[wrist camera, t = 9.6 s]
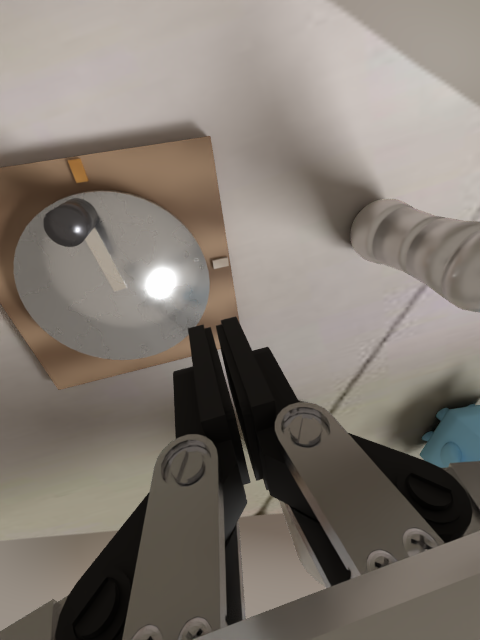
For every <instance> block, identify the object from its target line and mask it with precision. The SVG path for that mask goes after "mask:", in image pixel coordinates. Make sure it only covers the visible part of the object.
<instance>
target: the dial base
mask: <svg viewBox="0 0 480 640" xmlns="http://www.w3.org/2000/svg"><path fill="white" fill-rule="evenodd" d="M94 190H115V191H121V192H127V193H131V194H135V195H138V196H141V197H144V198H146V199H148V200H151V201H153V202H155V203H157V204H159V205H160V206H162V207H164V208H165V209H167V210H168V211H170V212H171V213H172V214H173V215H175V216H176V217H177V218H178V219H179V220H180V221H181V222H182V223H183V224H184V225H185V226H186V227H187V228H188V229H189V231H190V232H191V233H192V235H193V236H194V237H195V239H196V241H197V243H198V244H199V246H200V248H201V251H202V253H203V255H204V258H205V260H206V264H207V268H208V272H209V281H210V285H209V297H208V302H207V305H206V308H205V311H204V313H203V315H202V317H201V319H200V321H199V322H198V324H197V325H196V326H199V325H203V324H204V328H208V327H211V330H212V333H213V337H214V341H215V344H216V348H217V350H218V349H221V347H220V343H219V339H218V334H217V330H216V325H220V324H221V320H223V319H227V318H231V317H235V316H236V317H237V319H238V321H239V317H238V311H237V304H236V298H235V291H234V285H233V278H232V272H231V266H230V259H229V253H228V246H227V240H226V233H225V227H224V220H223V214H222V208H221V201H220V195H219V188H218V182H217V175H216V169H215V163H214V156H213V150H212V143H211V137H210V136H207V137H200V138H194V139H187V140H180V141H174V142H167V143H160V144H154V145H147V146H141V147H134V148H127V149H121V150H114V151H107V152H101V153H94V154H88V155H81V156H74V157H68V158H61V159H55V160H48V161H41V162H35V163H28V164H21V165H15V166H8V167H2V168H0V304H1V305H2V307H3V308H4V310H5V311H6V312H7V314H8V315H9V317H10V318H11V320H12V321H13V323H14V324H15V326H16V327H17V329H18V330H19V332H20V333H21V335H22V336H23V338H24V339H25V341H26V342H27V344H28V345H29V347H30V348H31V350H32V351H33V353H34V354H35V356H36V357H37V359H38V360H39V362H40V363H41V365H42V366H43V368H44V369H45V370H46V372H47V373H48V375H49V376H50V378H51V379H52V381H53V382H54V384H55V385H56V387H57V388H58V390H61V389H64V388H68V387H72V386H76V385H80V384H84V383H88V382H92V381H96V380H100V379H104V378H108V377H112V376H116V375H120V374H124V373H128V372H132V371H136V370H140V369H143V368H147V367H151V366H155V365H159V364H163V363H167V362H171V361H175V360H179V359H183V358H187V357H191V356H192V355H191V348H190V341H189V335H188V336H187V337H185V338H184V339H183V340H182V341H181V342H179V343H178V344H176V345H175V346H173V347H171V348H170V349H168V350H166V351H163V352H161V353H159V354H156V355H153V356H149V357H145V358H140V359H132V360H112V359H103V358H98V357H94V356H90V355H87V354H84V353H81V352H78V351H76V350H74V349H71V348H69V347H67V346H66V345H64V344H62V343H60V342H59V341H57V340H56V339H54V338H53V337H51V336H50V335H49V334H48V333H47V332H45V331H44V330H43V329H42V328H41V327H40V326H39V325H38V324H37V323H36V322H35V321H34V319H33V318H32V317H31V315H30V314H29V313H28V311H27V310H26V308H25V306H24V304H23V303H22V301H21V299H20V296H19V293H18V291H17V288H16V284H15V278H14V256H15V250H16V247H17V244H18V241H19V238H20V237H21V235H22V233H23V231H24V230H25V228H26V226H27V225H28V224H29V223H30V222H31V220H32V219H33V218H34V217H35V216H36V215H37V214H39V213H40V212H41V211H42V210H43V209H45V208H46V207H48V206H50V205H51V204H53V203H55V202H57V201H58V200H60V199H63V198H65V197H68V196H70V195H73V194H77V193H81V192H85V191H94Z"/></svg>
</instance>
